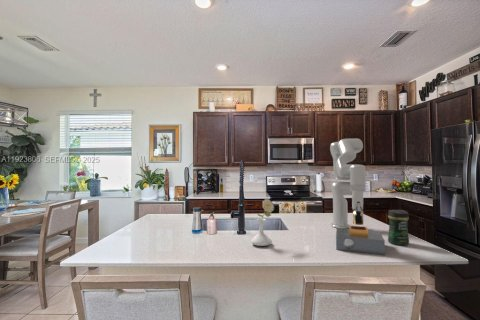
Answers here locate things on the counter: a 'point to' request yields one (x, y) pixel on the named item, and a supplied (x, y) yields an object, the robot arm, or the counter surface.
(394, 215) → the coffee jar
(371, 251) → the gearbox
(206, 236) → the counter surface
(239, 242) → the counter surface
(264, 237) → the flower in vase
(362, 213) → the brass can
